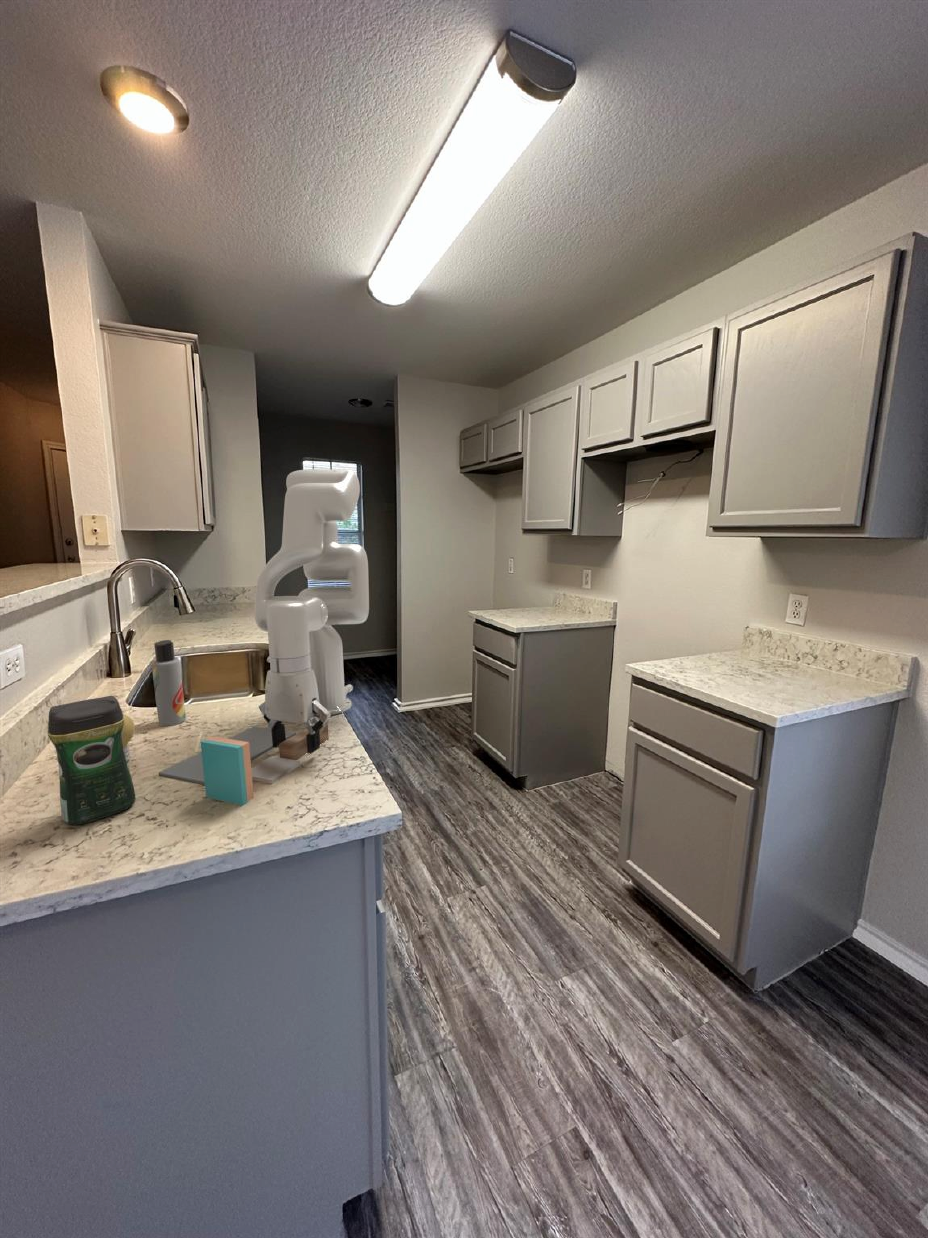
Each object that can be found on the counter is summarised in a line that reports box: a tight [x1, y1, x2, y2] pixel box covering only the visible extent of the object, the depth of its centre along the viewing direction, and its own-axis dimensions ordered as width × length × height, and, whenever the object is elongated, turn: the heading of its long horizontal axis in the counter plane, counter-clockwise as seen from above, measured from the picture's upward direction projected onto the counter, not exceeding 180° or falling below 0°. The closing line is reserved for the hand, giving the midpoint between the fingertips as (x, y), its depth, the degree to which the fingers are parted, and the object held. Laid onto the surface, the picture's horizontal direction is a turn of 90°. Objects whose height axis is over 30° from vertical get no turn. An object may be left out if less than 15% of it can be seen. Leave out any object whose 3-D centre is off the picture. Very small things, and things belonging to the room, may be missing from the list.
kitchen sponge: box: [199, 736, 255, 806], centre depth 81 cm, size 2×8×10 cm, turn 71°
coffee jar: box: [47, 695, 136, 826], centre depth 77 cm, size 10×8×19 cm
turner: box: [251, 723, 330, 785], centre depth 97 cm, size 20×7×4 cm, turn 160°
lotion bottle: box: [151, 639, 187, 727], centre depth 116 cm, size 6×6×20 cm
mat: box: [158, 725, 297, 785], centre depth 100 cm, size 24×12×1 cm, turn 160°
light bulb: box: [122, 714, 136, 763], centre depth 95 cm, size 6×6×10 cm
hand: (296, 747), depth 98 cm, fingers open, 7 cm apart
